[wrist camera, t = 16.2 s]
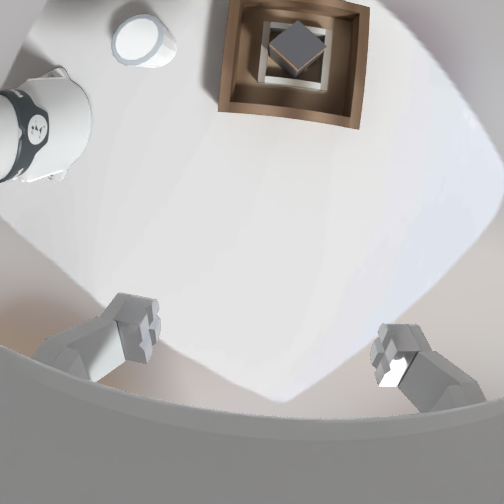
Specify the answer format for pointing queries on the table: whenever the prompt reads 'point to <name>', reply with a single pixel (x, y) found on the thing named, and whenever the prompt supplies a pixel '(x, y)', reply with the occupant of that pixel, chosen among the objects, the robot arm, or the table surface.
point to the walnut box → (312, 78)
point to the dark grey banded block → (296, 49)
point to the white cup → (143, 42)
